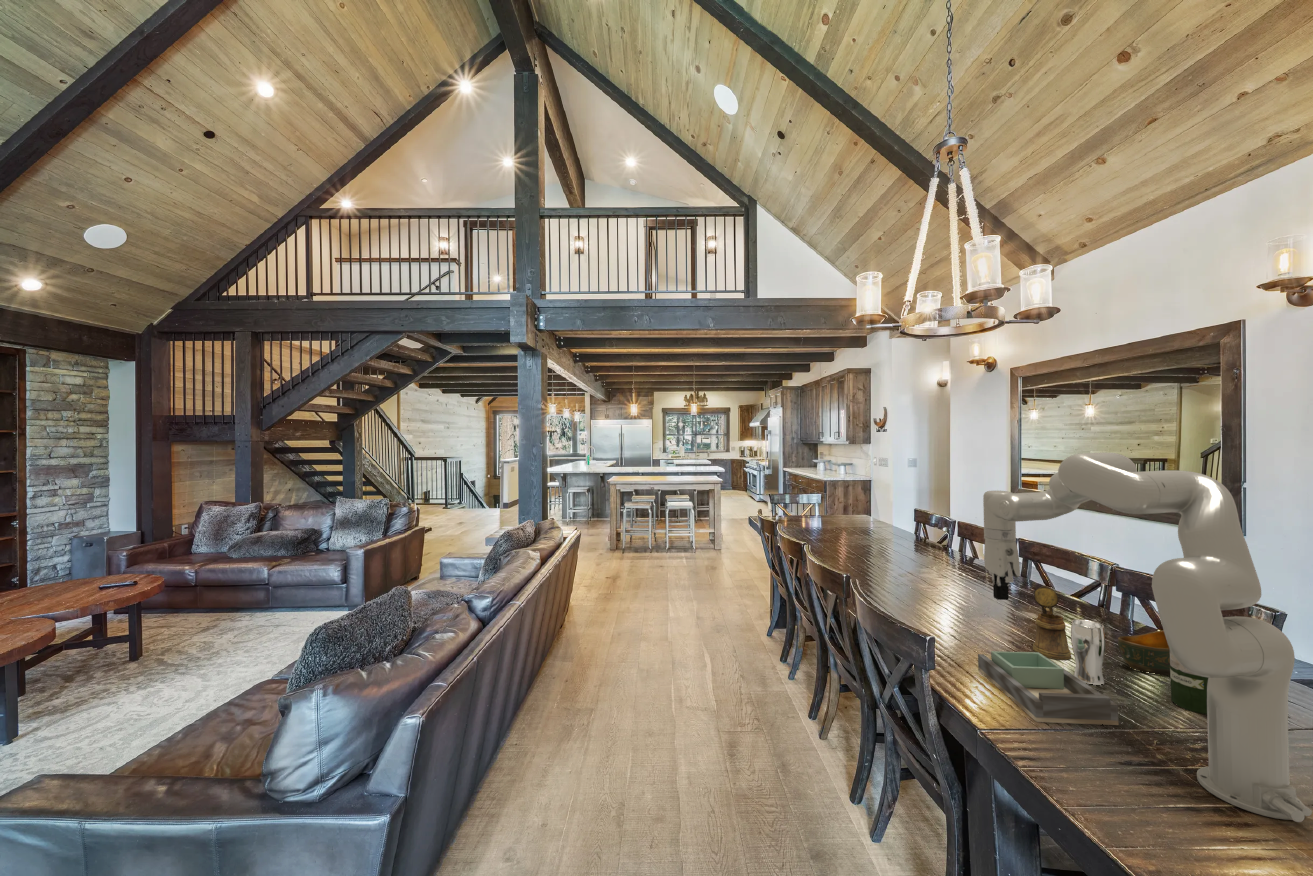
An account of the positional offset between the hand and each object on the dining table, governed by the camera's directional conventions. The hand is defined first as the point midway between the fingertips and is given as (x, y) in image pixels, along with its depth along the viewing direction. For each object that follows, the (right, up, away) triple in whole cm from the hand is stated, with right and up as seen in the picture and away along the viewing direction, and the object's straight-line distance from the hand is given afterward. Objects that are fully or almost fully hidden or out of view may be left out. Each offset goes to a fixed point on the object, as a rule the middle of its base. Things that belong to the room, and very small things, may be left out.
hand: (1001, 598), depth 145 cm
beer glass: (+16, -19, -10) cm, 27 cm away
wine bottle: (+30, -18, -24) cm, 42 cm away
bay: (-2, -19, -17) cm, 25 cm away
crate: (-1, -18, -11) cm, 21 cm away
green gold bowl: (+41, -18, -5) cm, 45 cm away
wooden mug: (+21, -19, +8) cm, 29 cm away
